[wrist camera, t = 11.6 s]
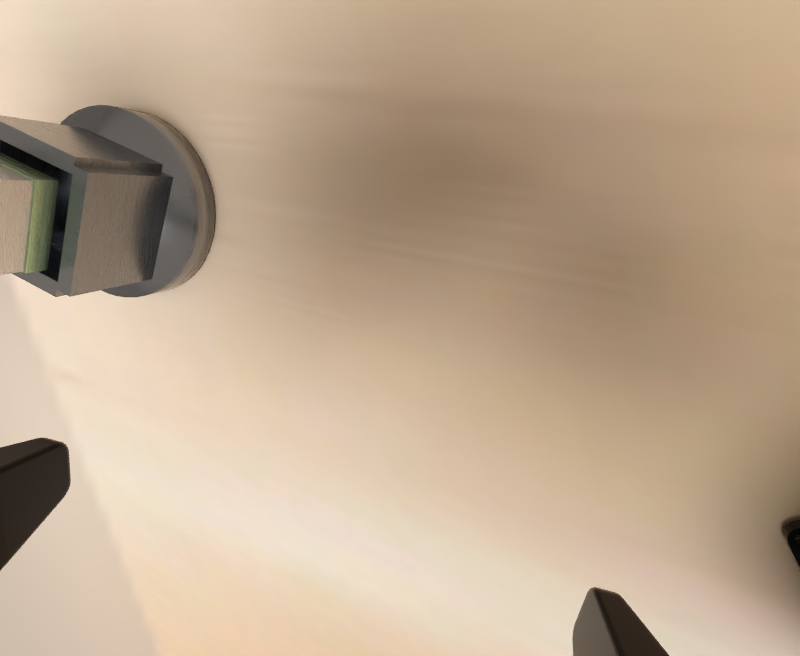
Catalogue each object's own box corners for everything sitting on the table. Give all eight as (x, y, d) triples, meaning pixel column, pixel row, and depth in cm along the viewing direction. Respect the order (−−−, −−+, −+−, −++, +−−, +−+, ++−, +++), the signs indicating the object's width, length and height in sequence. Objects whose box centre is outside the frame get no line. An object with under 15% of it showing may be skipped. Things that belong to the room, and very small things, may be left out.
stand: (234, 151, 20) (126, 136, 15) (192, 318, 23) (88, 354, 18) (82, 84, 22) (-67, 47, 16) (59, 250, 24) (-74, 265, 19)
